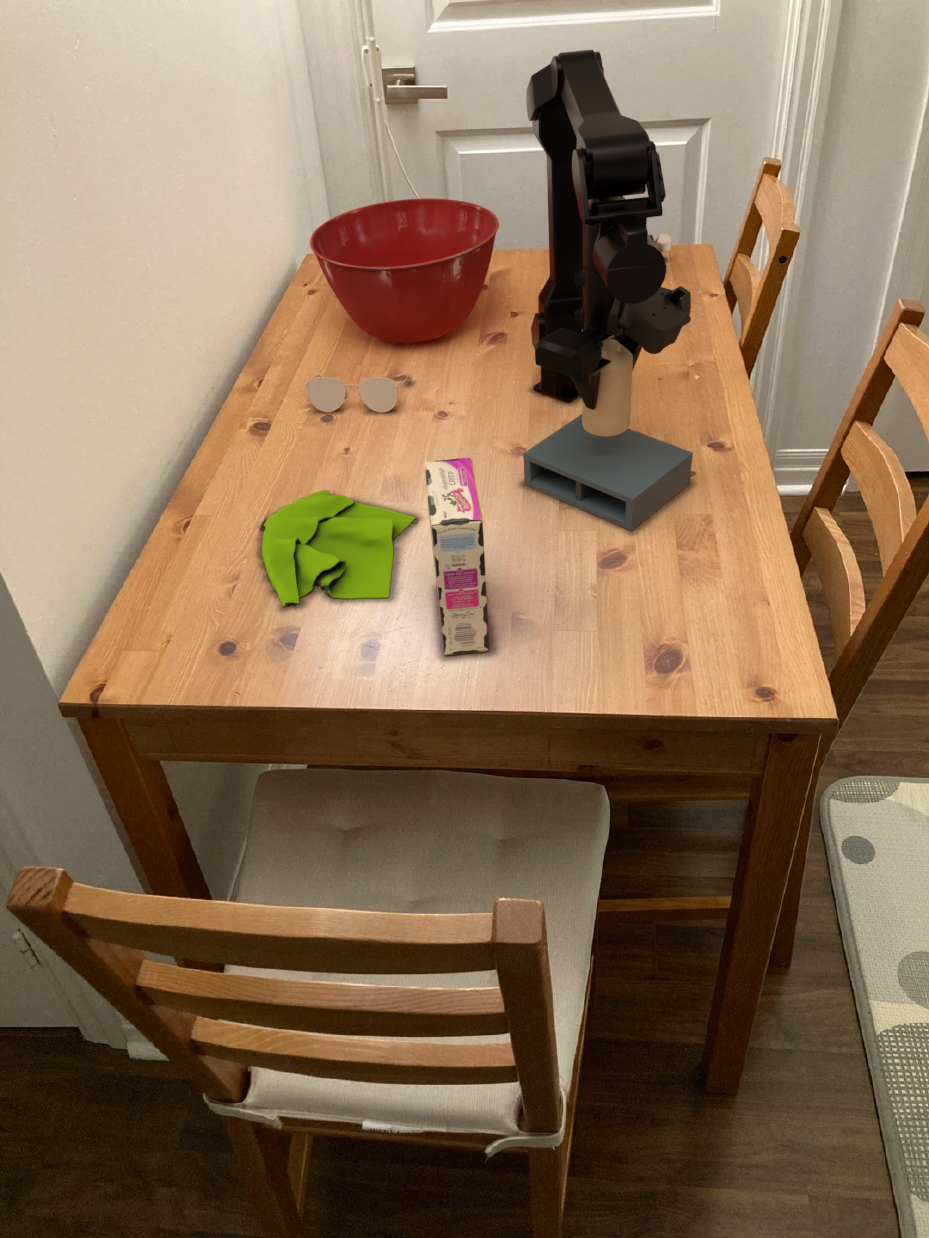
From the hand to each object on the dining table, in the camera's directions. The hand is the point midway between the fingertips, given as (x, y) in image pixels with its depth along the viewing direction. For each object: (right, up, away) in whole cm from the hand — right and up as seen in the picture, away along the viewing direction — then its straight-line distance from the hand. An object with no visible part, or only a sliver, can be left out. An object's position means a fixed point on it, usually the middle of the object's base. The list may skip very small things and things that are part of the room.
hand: (606, 397), depth 112 cm
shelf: (+1, -9, +8) cm, 12 cm away
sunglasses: (-31, +6, +28) cm, 43 cm away
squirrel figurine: (+15, +34, +55) cm, 66 cm away
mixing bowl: (-24, +21, +45) cm, 55 cm away
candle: (0, -3, +2) cm, 4 cm away
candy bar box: (-16, -25, -9) cm, 31 cm away
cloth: (-32, -18, +1) cm, 36 cm away
